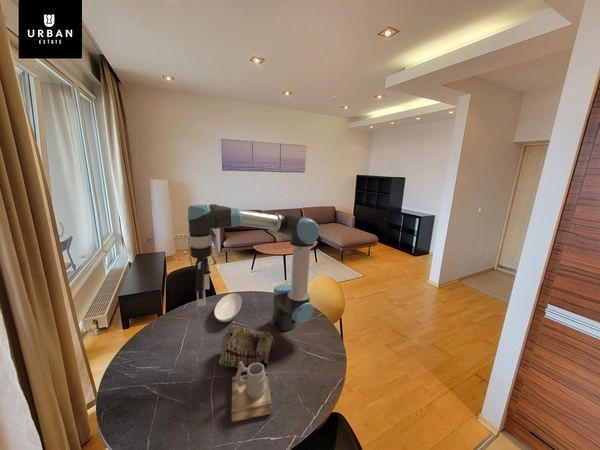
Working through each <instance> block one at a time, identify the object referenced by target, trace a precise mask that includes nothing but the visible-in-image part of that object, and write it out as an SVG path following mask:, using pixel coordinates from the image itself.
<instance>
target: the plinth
mask: <svg viewBox="0 0 600 450" xmlns="http://www.w3.org/2000/svg"><path fill="white" fill-rule="evenodd" d="M264 372H265V383H266V390H265V393H264V394H263V395H262V396H261V397H259V398H250V397H249V396H248V394H247V392H246V385H247V384H245V385H242V386H241V387H239V386H238V384H237V383H236V376H232V377H231V379H232V380H231V381H232V383H231V423H234V422H239V421H243V420H247V419H252V418H258V417H261V416H266V415H271V414H272V412H273V409H272V405H273V403H272V400H271V391H270V386H269V385H270V384H269V379H268V371H266V370H264ZM246 377H247V374H244V375H243V374H242V375H241V378H242V379H243V380H245V379H247V378H246Z"/></svg>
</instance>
